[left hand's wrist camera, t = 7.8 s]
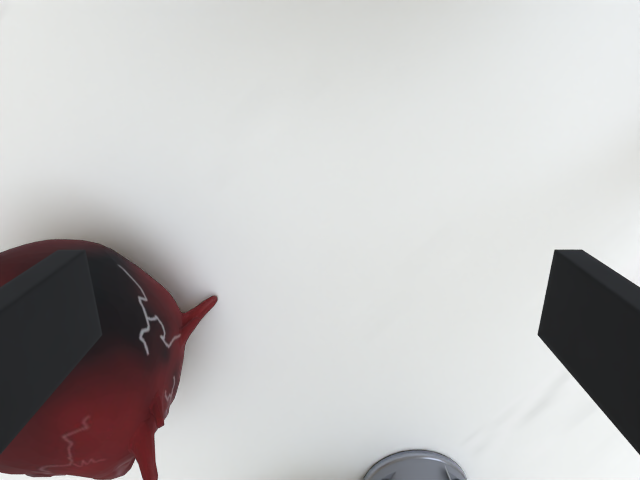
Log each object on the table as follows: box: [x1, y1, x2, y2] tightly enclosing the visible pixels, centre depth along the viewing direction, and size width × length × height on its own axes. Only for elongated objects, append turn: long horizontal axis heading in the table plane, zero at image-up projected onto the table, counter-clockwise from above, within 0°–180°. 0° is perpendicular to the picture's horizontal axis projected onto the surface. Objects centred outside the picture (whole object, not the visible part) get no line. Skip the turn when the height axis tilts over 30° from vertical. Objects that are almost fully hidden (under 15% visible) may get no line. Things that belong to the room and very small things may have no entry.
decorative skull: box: [0, 239, 217, 480], centre depth 43 cm, size 21×24×25 cm
